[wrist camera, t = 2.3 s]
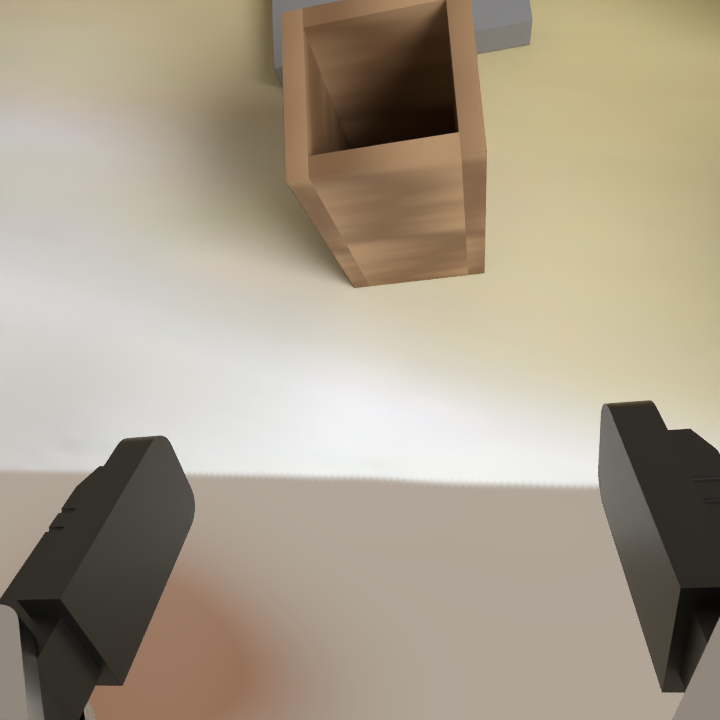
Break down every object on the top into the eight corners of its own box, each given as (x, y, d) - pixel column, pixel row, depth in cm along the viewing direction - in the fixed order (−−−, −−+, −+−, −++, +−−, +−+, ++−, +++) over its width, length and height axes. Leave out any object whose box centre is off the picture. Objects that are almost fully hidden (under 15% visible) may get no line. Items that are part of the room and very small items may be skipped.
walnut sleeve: (472, 153, 27) (467, -26, 18) (484, 272, 26) (486, 150, 16) (348, 171, 28) (281, 12, 19) (354, 287, 27) (285, 181, 17)
